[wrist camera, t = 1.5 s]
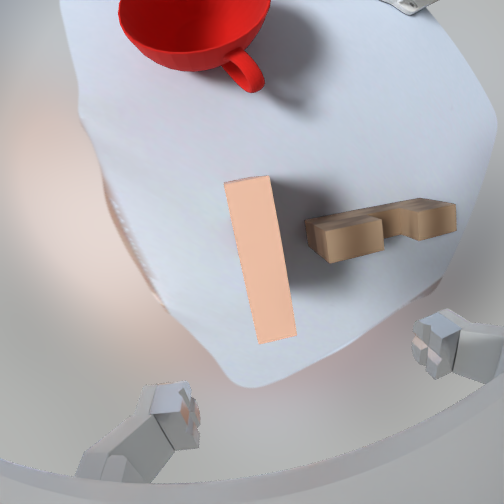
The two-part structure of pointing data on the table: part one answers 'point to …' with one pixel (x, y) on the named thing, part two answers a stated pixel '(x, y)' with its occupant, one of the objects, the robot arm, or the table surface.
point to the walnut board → (378, 227)
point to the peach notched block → (261, 257)
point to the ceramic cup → (198, 34)
